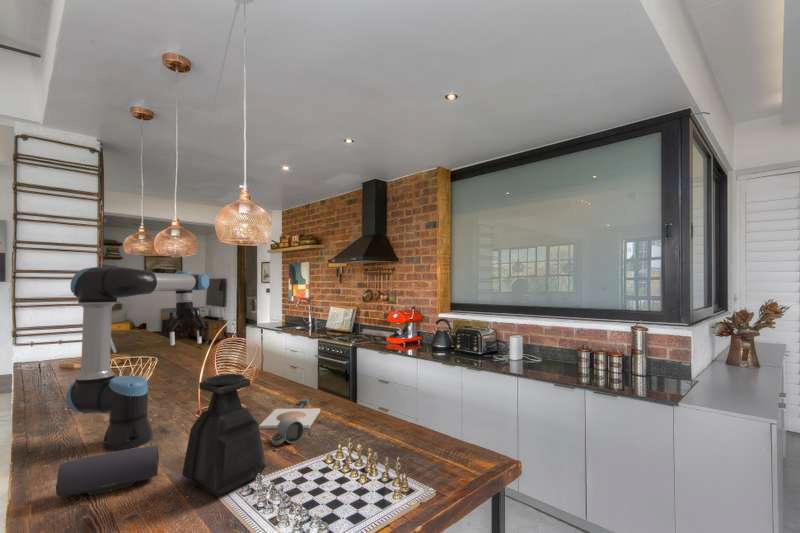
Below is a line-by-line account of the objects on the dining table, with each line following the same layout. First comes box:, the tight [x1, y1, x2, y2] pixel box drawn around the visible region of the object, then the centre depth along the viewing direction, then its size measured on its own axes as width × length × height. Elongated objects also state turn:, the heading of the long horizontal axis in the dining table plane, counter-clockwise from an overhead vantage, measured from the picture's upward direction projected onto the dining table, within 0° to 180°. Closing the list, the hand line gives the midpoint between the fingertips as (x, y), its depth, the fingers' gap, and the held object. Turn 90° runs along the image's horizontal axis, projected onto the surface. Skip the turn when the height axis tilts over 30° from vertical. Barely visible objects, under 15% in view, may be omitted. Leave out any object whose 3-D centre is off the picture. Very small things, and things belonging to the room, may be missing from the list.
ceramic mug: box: [270, 418, 305, 446], centre depth 144 cm, size 11×8×8 cm
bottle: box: [182, 373, 267, 497], centre depth 116 cm, size 18×16×30 cm
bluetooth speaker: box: [55, 445, 160, 497], centre depth 112 cm, size 23×9×10 cm, turn 118°
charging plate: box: [258, 398, 321, 430], centre depth 171 cm, size 32×20×2 cm, turn 179°
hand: (186, 344), depth 196 cm, fingers open, 13 cm apart
